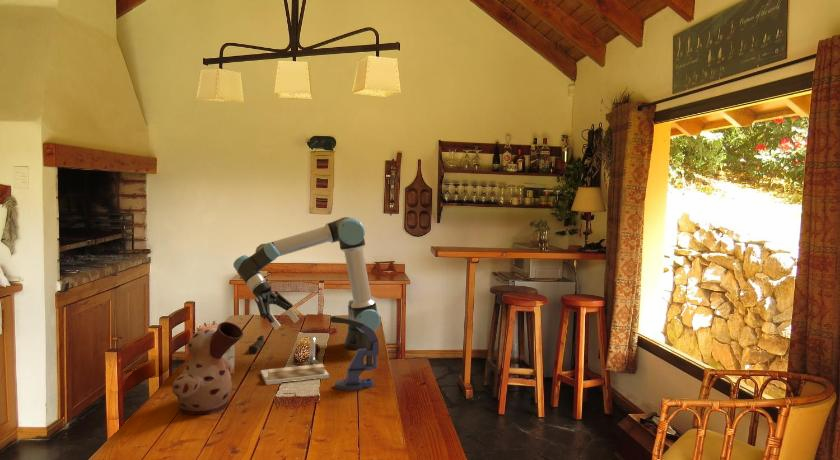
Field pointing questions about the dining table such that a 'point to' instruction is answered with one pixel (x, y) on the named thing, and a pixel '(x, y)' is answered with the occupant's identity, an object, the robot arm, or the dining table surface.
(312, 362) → the surface gauge
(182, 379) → the vessel
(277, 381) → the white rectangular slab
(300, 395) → the dining table surface
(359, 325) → the hand press
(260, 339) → the hand tool
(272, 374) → the oak board
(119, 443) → the dining table surface
